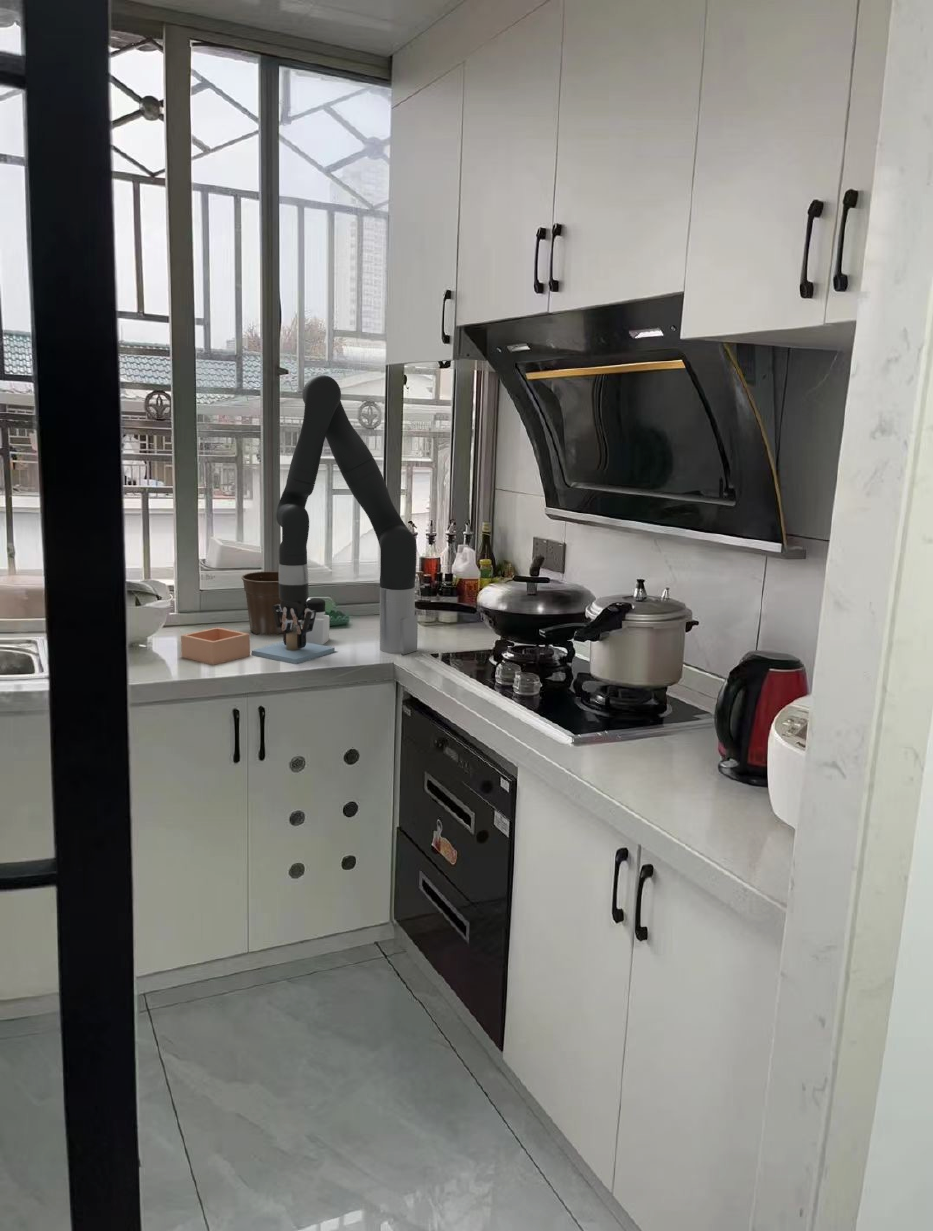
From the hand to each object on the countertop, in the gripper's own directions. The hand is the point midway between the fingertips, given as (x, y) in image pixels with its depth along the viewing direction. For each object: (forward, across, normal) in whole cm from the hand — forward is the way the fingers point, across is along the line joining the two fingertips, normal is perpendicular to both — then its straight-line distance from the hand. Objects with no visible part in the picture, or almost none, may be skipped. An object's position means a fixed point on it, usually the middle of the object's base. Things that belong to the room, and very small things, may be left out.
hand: (294, 645), depth 252 cm
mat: (+2, 0, 0) cm, 2 cm away
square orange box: (+2, +13, +15) cm, 20 cm away
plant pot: (+3, +24, -15) cm, 28 cm away
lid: (+2, 0, +1) cm, 2 cm away
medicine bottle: (+2, +5, -12) cm, 13 cm away
